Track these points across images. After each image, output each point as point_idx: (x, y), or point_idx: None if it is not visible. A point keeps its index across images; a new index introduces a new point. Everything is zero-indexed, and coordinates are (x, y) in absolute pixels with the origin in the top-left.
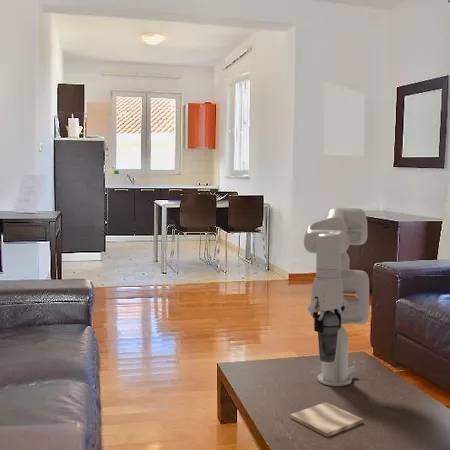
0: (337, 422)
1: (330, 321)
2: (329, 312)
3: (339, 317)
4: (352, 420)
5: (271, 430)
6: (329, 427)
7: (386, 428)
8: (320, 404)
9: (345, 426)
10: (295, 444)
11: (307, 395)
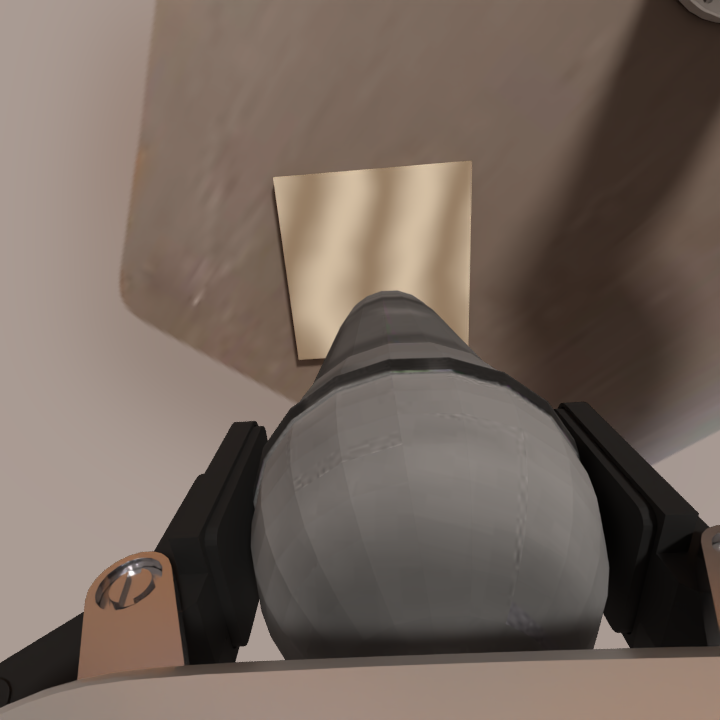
0: None
1: None
2: (567, 594)
3: (617, 624)
4: None
5: (162, 225)
6: (331, 335)
7: None
8: (435, 168)
9: None
10: (190, 340)
11: (484, 14)
